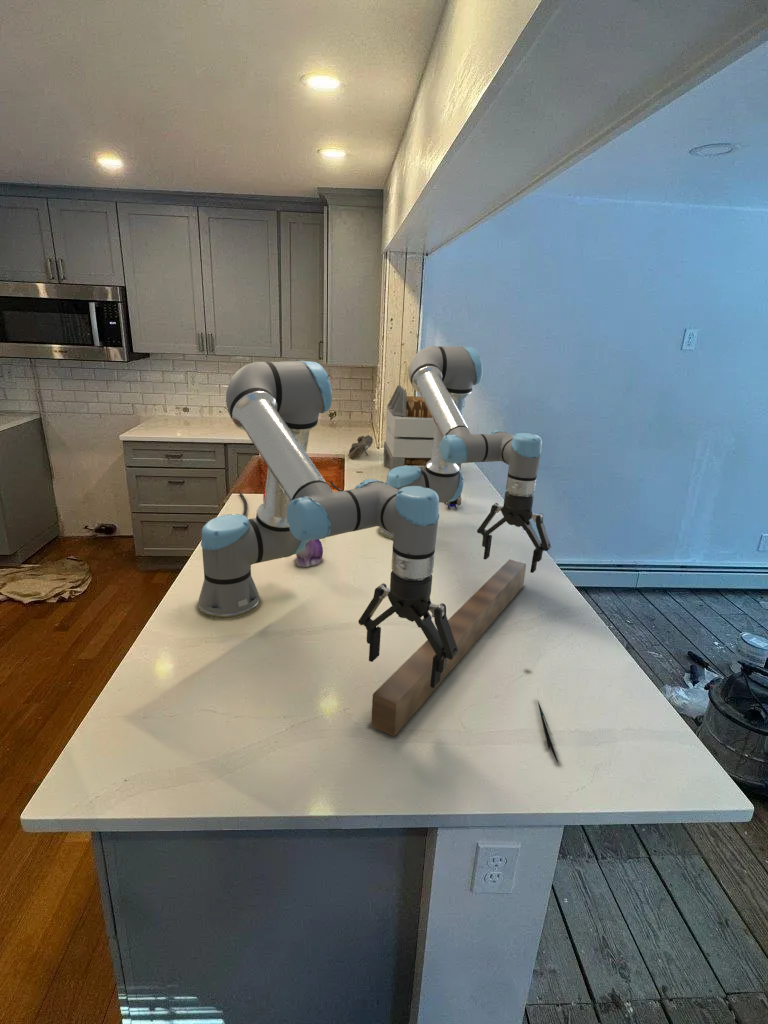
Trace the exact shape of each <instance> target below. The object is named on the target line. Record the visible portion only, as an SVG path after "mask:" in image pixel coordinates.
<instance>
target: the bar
mask: <svg viewBox="0 0 768 1024" xmlns="http://www.w3.org/2000/svg"><path fill="white" fill-rule="evenodd" d="M526 570H527V563H525V562H521V561H517V560H514V559H508V560H507V561H506V562H505V563H504V564H503V565H501V567H500V568H499V569H498V570H497V571H496V572H495V573H494V574H493V575H492V576H491V577H490V578H488V580H487V581H486V582H484V583H483V585H482V586H481V587H480V588H479V589H478V590H477V591H476V592H474V594H473V595H472V596H471V597H470V598H468V599H467V601H465V603H464V604H463V605H461V607H460V608H458V609H457V610H456V612H454V613H453V614H452V615H451V616H450V617H449V618H447V619H448V622H449V625H450V628H451V631H452V634H453V637H454V639H455V642H456V645H457V648H458V653H457V654H456V655H455V656H454V658H453V659H451V660H450V659H448V658H447V665H446V668H445V670H444V671H443V672H442V673H441V678H440V681H439V683H438V684H437V685H436V686H435V687H434V688H432V687H430V683H431V674H432V664H433V657H434V656H435V655H436V653H435V651H434V650H433V648H432V646H431V645H430V643H429V641H428V639H426V641H425V642H424V643H423V644H422V645H420V647H419V648H418V649H417V650H416V651H415V652H413V653H412V655H411V656H410V657H408V659H406V661H404V663H402V664H401V666H399V667H398V669H396V671H395V672H393V674H391V676H389V677H388V678H387V679H386V681H384V682H383V683H382V684H381V686H379V687H378V688H377V689H376V690H375V691H374V692H373V693H372V699H371V703H372V704H371V722H370V723H371V724H370V726H371V727H372V728H375V729H376V730H379V731H381V732H383V733H386V734H388V735H390V736H392V737H395V736H397V734H398V733H399V732H400V731H401V730H402V729H403V727H404V726H405V725H406V724H407V723H408V722H409V720H410V719H411V718H412V717H413V715H414V714H415V713H416V712H417V711H419V708H420V707H421V706H422V705H423V704H424V703H425V702H426V701H427V699H428V698H429V697H430V696H431V695H432V694H433V692H434V691H435V690H436V689H437V688H438V687H439V686H440V684H441V683H442V682H443V681H444V679H445V678H447V676H448V675H449V674H450V672H451V671H452V670H453V669H454V668H455V667H456V666H457V664H458V663H459V662H460V661H461V660H462V659H463V657H464V656H465V655H466V654H467V652H469V650H470V649H471V648H472V647H473V646H474V645H475V643H476V642H477V641H478V640H479V639H480V638H481V637H482V635H483V634H484V633H485V632H486V630H488V629H489V627H490V626H491V625H492V624H493V622H494V621H495V620H496V619H497V618H498V617H499V615H500V614H501V613H502V612H503V611H504V610H505V609H506V607H507V606H508V605H509V604H510V603H511V601H513V600H514V598H515V597H516V596H517V594H518V593H519V592H520V591H521V590H522V589H523V588H524V584H525V576H526Z"/></svg>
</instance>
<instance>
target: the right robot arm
mask: <svg viewBox="0 0 768 1024" xmlns="http://www.w3.org/2000/svg"><path fill="white" fill-rule="evenodd" d="M483 367H484V366H483V361H482V358H481V355H480V353H479V352H478V350H477V349H475V348H474V347H470V346H463V345H460V346H459V345H458V346H455V345H454V346H453V345H451V346H449V345H447V346H445V345H444V346H443V345H442V346H440V345H439V346H437V345H430V346H426V347H424V348H422V349H420V350H419V351H417V352H416V354H415V355H414V356H413V358H412V359H411V361H410V363H409V366H408V378H409V382H410V383H411V386H412V388H413V390H414V391H415V392H417V393H419V395H420V397H422V398H423V400H424V402H425V404H426V406H427V408H428V410H429V412H430V414H431V416H432V418H433V420H434V422H435V424H436V427H435V434H434V441H433V448H432V456H431V460H430V461H428V462H427V463H426V466H424V467H425V468H424V470H422V469H421V467H420V466H407V465H404V466H400V467H396V468H393V469H392V470H390V469H389V470H388V472H387V475H386V480H385V481H386V482H385V483H387V484H389V485H390V486H392V487H394V488H396V489H398V490H399V489H401V488H403V487H407V486H421V487H423V488H429V489H432V490H433V491H435V492H436V493H437V495H438V497H439V504H441V503H442V504H445V503H446V502H451V501H455V500H456V499H458V497H459V496H460V494H461V495H462V492H463V489H464V476H463V473H462V470H461V471H460V470H459V467H458V465H457V464H461V465H462V464H468V463H469V464H470V463H471V464H472V463H489V462H490V463H492V462H502V463H504V464H506V465H507V466H508V468H507V469H508V470H507V476H506V485H505V490H506V491H505V492H504V497H503V505H500V504H499V502H495V503H494V504H492V505H491V507H490V511H489V513H488V514H487V516H485V518H484V520H483V521H482V523H481V524H480V525H479V527H478V528H477V530H476V533H477V534H480V535H481V536H482V542H481V546H482V548H484V552H483V560H486V561H487V560H488V558H489V557H490V555H491V549H492V548H491V547H492V540H493V535H492V533H493V532H494V531H495V530H497V529H499V527H501V526H502V525H503V524H505V523H506V524H508V525H510V526H515V527H517V528H520V527H522V529H523V531H525V533H526V534H527V536H528V538H529V539H530V541H531V543H532V545H533V546H534V547H535V549H533V551H532V552H533V553H532V559H531V564H530V572H529V573H531V574H534V573H535V571H536V570H537V567H538V566H537V565H538V563H539V562H540V561H541V560H542V558H543V552H544V551H545V552H548V551H549V550H550V549H551V547H552V545H551V542H550V539H549V535H548V532H547V529H546V527H545V523H544V514H543V513H541V512H540V513H533V505H534V499H535V496H534V494H535V493H536V492H535V491H536V485H537V478H538V473H539V467H540V461H541V455H542V443H543V439H542V437H541V436H540V435H537V434H533V433H529V432H518V433H515V434H514V435H513V434H511V433H510V432H508V431H506V430H505V431H504V430H500V429H499V430H498V429H497V430H493V431H491V432H490V433H472V432H471V430H470V428H469V426H468V425H467V423H466V421H464V420H465V419H464V413H465V407H466V400H467V397H468V396H469V395H470V394H472V392H473V386H476V385H479V383H480V382H481V380H482V378H483V373H484V372H483V371H484V370H483ZM456 463H457V464H456ZM329 484H330V485H331V486H332V488H333V489H335V490H336V491H337V492H339V491H343V490H342V489H340V488H339V487H337V485H335V484H334V482H333V481H331V480H330V481H329ZM499 512H501V514H502V516H503V517H502V518H501V519H499V520H498V521H497V522H496V523H494V524H493V525H492V526H490V527H489V528H487V527H488V525H489V524H490V523H491V521H492V520H493V518H494V517H495V516H496V514H498V513H499ZM531 519H533V522H534V523H535V527H536V529H537V532H538V534H537V533H536V531H535V529H534V527H533V524H532V522H531V521H530V520H531ZM486 528H487V529H486ZM378 533H379V534H380V535H381V536H382V537H385V538H387V539H389V540H393V533H391V532H389V531H387V530H385V529H384V528H382V527H380V526H378Z"/></svg>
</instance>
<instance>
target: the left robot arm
mask: <svg viewBox="0 0 768 1024" xmlns="http://www.w3.org/2000/svg"><path fill="white" fill-rule="evenodd" d="M332 403H333V389H332V384H331V381H330V378H329V375H328V372H327V371H326V370H325V368H324V367H323V366H322V365H321V364H320V363H318V362H316V361H305V360H297V361H296V360H295V361H294V360H291V361H290V360H289V361H288V360H287V361H253V362H250V363H248V364H245V365H244V366H242V367H241V368H239V369H238V370H237V371H236V372H235V373H234V375H232V377H231V379H230V380H229V382H228V385H227V388H226V393H225V404H226V410H227V412H228V415H229V417H230V418H231V420H232V422H233V423H234V425H235V426H236V427H237V428H238V429H240V430H242V431H245V433H246V434H247V436H248V438H249V439H250V441H251V443H252V444H253V446H254V448H255V449H256V450H257V452H258V454H259V455H260V457H261V458H262V460H263V462H264V463H265V465H266V466H267V473H266V481H265V489H264V491H265V498H264V503H261V504H260V505H259V506H258V507H257V509H256V516H255V517H254V518H248V516H247V513H248V503H247V500H246V497H245V496H244V495H243V493H242V492H239V496H240V498H241V499H242V501H243V506H244V510H243V513H242V514H239V513H234V514H232V513H229V514H224V515H219V516H216V517H214V518H212V519H209V521H207V522H206V523H205V524H204V525H203V527H202V528H201V540H200V547H201V551H202V565H203V577H204V578H203V582H202V586H201V590H200V593H199V596H198V609H199V611H200V612H201V613H202V614H204V615H205V616H208V617H210V618H214V619H234V618H239V617H243V616H245V615H248V614H250V613H251V612H253V611H255V610H256V609H257V608H258V606H259V604H260V595H259V591H258V588H257V586H256V584H255V581H254V579H253V577H252V566H253V565H255V564H260V563H264V562H269V561H274V560H279V559H283V558H289V557H291V556H295V555H296V554H297V553H299V552H301V551H302V550H303V549H304V547H305V546H306V543H307V541H309V540H316V539H319V540H324V539H326V538H330V537H334V536H337V535H343V534H347V533H351V532H352V533H353V532H357V531H362V530H366V529H371V528H375V527H379V526H380V527H382V528H384V529H385V530H387V531H389V532H391V533H393V539H392V552H391V553H392V554H391V572H390V582H389V588H388V586H387V584H386V583H381V584H380V585H378V586H377V587H376V588H375V589H374V592H373V597H372V599H371V600H370V602H369V604H368V605H367V607H366V608H365V610H364V611H363V613H362V614H361V616H360V617H359V619H358V624H359V625H360V626H364V627H365V629H366V643H367V644H368V645H369V648H368V649H369V650H368V651H369V652H368V662H370V663H373V662H374V661H375V660H376V659H377V658H378V657H379V656H380V652H381V651H380V650H381V636H382V635H381V633H382V627H381V626H379V625H380V624H382V623H383V622H385V620H387V619H388V618H389V617H391V616H392V615H393V614H394V613H395V614H396V615H397V617H398V618H401V619H406V620H407V621H409V622H412V623H415V625H416V626H417V628H419V629H421V631H422V633H423V635H424V636H425V637H426V640H428V641H429V643H430V645H431V646H432V648H433V650H434V651H435V653H436V655H435V656H434V657H433V664H432V674H431V683H430V687H432V688H434V687H435V686H436V685H437V684H438V683H439V681H440V678H441V673H442V672H443V671H444V670H445V668H446V665H447V658H448V659H450V660H451V659H453V658H454V656H455V655H456V654H457V653H458V648H457V645H456V642H455V639H454V637H453V634H452V631H451V628H450V625H449V622H448V619H449V618H448V617H447V605H446V604H445V603H442V602H441V603H440V604H435V603H432V602H431V601H432V600H431V594H432V586H433V573H434V565H435V564H434V563H435V551H436V542H437V533H438V526H439V525H438V523H439V519H440V503H439V497H438V495H437V493H436V492H435V491H433V490H432V489H429V488H423V487H421V486H407V487H403V488H401V489H399V490H398V489H396V488H394V487H392V486H390V485H389V484H387V483H386V482H384V481H382V480H378V479H376V478H375V479H374V478H367V479H364V480H362V481H361V482H360V483H358V484H357V485H356V486H355V487H354V488H353V489H352V488H351V489H347V490H342V491H334V490H333V489H332V488H331V486H329V484H328V483H327V481H326V480H325V478H324V477H323V476H322V474H321V472H320V470H318V468H317V467H316V465H315V464H314V462H313V461H312V459H311V458H310V457H309V455H308V454H307V450H308V444H309V436H310V431H311V430H313V429H314V428H316V426H317V425H318V423H319V422H318V421H319V416H320V414H325V413H327V412H328V411H329V410H330V409H331V406H332ZM386 598H388V600H389V602H390V605H391V606H389V608H387V609H386V610H385V611H384V612H382V613H381V614H379V615H378V616H377V617H376V618H374V619H372V617H373V616H374V614H375V612H377V609H378V608H379V607H380V605H381V603H382V601H383V600H384V599H386ZM422 617H423V618H422ZM432 618H433V619H432ZM433 620H434V622H433Z"/></svg>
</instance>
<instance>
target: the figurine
mask: <svg viewBox="0 0 768 1024" xmlns="http://www.w3.org/2000/svg"><path fill="white" fill-rule="evenodd" d="M323 554H324V548H323V544H322V542H321V539H316V540H309V541H307V543H306V546H305V547H304V549H303V550H302V551H301V552H299V553H297V554H295V556H296V558H295V561H296V566H298V567H303V568H308V567H310V566H312V567H313V566H316V565H318V564H321V562H322V561H323Z"/></svg>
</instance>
